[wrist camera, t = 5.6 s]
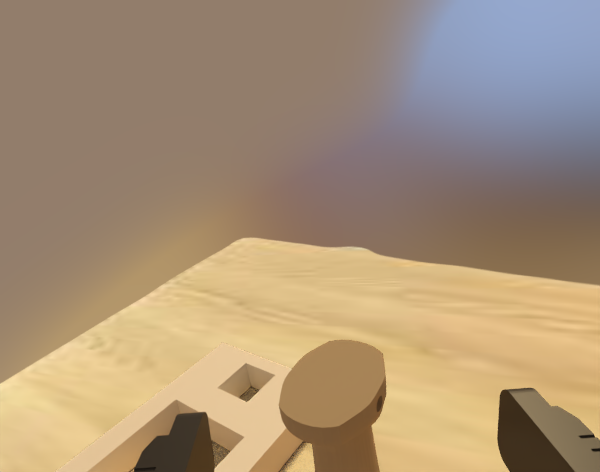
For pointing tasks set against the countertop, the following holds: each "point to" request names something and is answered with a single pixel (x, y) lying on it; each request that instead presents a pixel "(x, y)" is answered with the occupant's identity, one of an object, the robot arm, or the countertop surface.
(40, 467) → the countertop surface
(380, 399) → the handle
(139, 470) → the robot arm
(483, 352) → the countertop surface
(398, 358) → the countertop surface
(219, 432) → the plate
